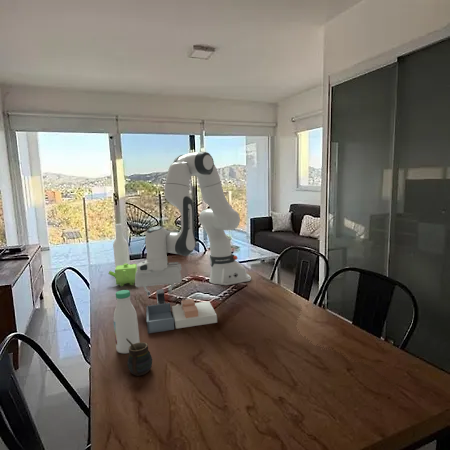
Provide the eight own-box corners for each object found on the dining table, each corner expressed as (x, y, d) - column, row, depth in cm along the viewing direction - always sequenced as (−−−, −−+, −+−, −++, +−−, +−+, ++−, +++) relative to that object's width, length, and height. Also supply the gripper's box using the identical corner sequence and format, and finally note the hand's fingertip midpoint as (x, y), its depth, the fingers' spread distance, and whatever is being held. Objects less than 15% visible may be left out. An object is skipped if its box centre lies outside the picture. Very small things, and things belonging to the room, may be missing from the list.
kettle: (146, 281, 194) (145, 262, 192) (127, 289, 182) (124, 268, 181) (128, 278, 202) (126, 259, 201) (108, 285, 190) (106, 265, 189)
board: (209, 307, 150) (209, 301, 150) (217, 322, 135) (216, 315, 135) (172, 312, 147) (171, 306, 146) (175, 328, 131) (175, 321, 131)
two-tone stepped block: (163, 300, 163) (162, 286, 162) (166, 311, 149) (164, 296, 148) (157, 301, 162) (156, 287, 161) (158, 312, 149) (157, 296, 148)
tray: (170, 312, 147) (169, 302, 147) (174, 329, 131) (173, 318, 130) (147, 316, 145) (146, 305, 144) (147, 333, 129) (146, 322, 128)
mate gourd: (147, 379, 99) (144, 346, 98) (123, 378, 101) (119, 345, 99) (157, 365, 106) (153, 334, 105) (133, 364, 108) (130, 334, 106)
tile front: (196, 311, 139) (195, 305, 139) (198, 316, 134) (197, 310, 134) (183, 313, 138) (183, 307, 138) (185, 318, 133) (184, 311, 133)
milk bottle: (144, 345, 120) (139, 289, 117) (129, 355, 113) (123, 296, 110) (127, 341, 123) (121, 287, 120) (111, 352, 116) (105, 294, 113)
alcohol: (112, 272, 218) (108, 224, 213) (124, 268, 225) (119, 222, 221) (122, 273, 213) (117, 225, 208) (133, 270, 220) (128, 223, 216)
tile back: (193, 304, 147) (193, 298, 147) (195, 308, 142) (194, 302, 142) (181, 306, 146) (181, 300, 146) (183, 310, 141) (182, 304, 141)
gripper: (180, 259, 158) (182, 289, 160) (133, 264, 154) (136, 294, 155) (181, 263, 152) (183, 293, 154) (133, 267, 148) (135, 299, 149)
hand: (159, 294), depth 155 cm, fingers open, 8 cm apart
